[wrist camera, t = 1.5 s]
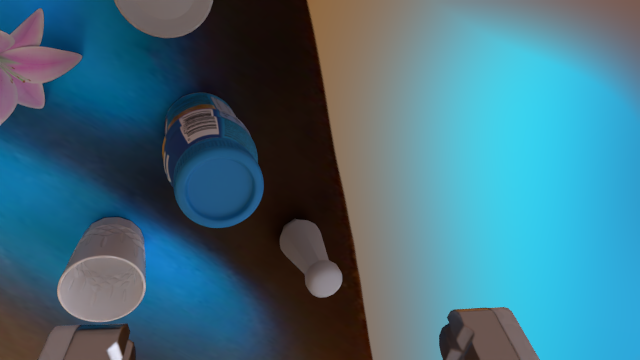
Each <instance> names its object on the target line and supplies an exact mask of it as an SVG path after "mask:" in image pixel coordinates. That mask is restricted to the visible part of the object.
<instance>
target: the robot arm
mask: <svg viewBox="0 0 640 360" xmlns="http://www.w3.org/2000/svg"><path fill="white" fill-rule="evenodd" d="M447 318H448V321H449V324H447V325H446V326H444V327H443V328H442V330H441V333H440V335H439V346H440V351H441V355H442V357H443V360H540V359H539V358H538V356H537V354H536V353H535V351H534V349H533V348H532V346H531V344H530V343H529V340H528V339H527V337H526V335H525V334H524V332H523V330H522V329H521V327H520V325H519V323H518V322H517V320H516V318H515V316H514V315H513V313H512V311H510V310H509V309H508V308H504V307H500V308H474V309H457V310H453V311H451V312H450V313H449V315H448V317H447ZM129 334H130V330H129V327H128V324H102V325H67V326H55V328H54V329H53V330H52V331H51V332H50V334H49V336H48V338H47V340H46V342H45V344H44V346H43V349H42V351H41V353H40V355H39V357H38V359H37V360H136V352H135V346H134V342H132V341H130V340H129V339H128V338H129Z"/></svg>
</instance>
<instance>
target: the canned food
mask: <svg viewBox="0 0 640 360" xmlns="http://www.w3.org/2000/svg"><path fill="white" fill-rule="evenodd" d="M114 1H115V4H116V6H117V7H118V9H119V11H120V12H121V14H122V15H123V16H124V17H125V18H126V20H127V21H128V22H129V23H131V24H132V25H133V26H134V27H136V28H137V29H139V30H140V31H142V32H144V33H146V34H149V35H152V36H155V37H161V38H175V37H179V36H184V35H186V34H188V33H190V32H192V31H193V30H195V29H196V28H197V27H199V26H200V25H201V24H202V22H203V21H204V20H205V19H206V17H207V15H208V14H209V12H210V9H211V6H212V3H213V0H114Z"/></svg>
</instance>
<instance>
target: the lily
mask: <svg viewBox="0 0 640 360" xmlns="http://www.w3.org/2000/svg"><path fill="white" fill-rule="evenodd" d="M43 28H44V15H43V10H42V8H40V9H37V10H36V11H35V12H34V13H33V14H32V15H31V16H29V17H28V18H27V19H26V20H25V21H24V22H23V23H22V24H21V25H20V26H19V27H18V28H16V29H15V30H14V31H13V32H12V33H11V34H10V35H9V34H7V33H5V32H3V31H1V30H0V125H1V124H2V123H3V122H4V121H5V120H6V119H7V118H8V117H9V116H10V114H11V113H12V112H13V111H14V109H15V107H16V105H17V103H18V104H21V105H23V106H27V107H31V108H36V109H41V108H43V107H44V104H45V96H44V89H43V86H42V83H45V82H49V81H52V80H54V79H56V78H58V77H60V76H61V75H63V74H64V73H66V72H68V71H69V70H70V69H72V68H73V67H74V66H75V65H77V64H78V63H79V62H80V61H81V59H82V56H81V54H78V53H74V52H70V51H64V50H59V49H54V48H48V47H39V46H40V44H41V40H42V36H43Z"/></svg>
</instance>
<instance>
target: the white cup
mask: <svg viewBox="0 0 640 360" xmlns="http://www.w3.org/2000/svg"><path fill="white" fill-rule="evenodd" d="M145 290H146V261H145V248H144V238H143V235H142V232H141V229H140V228H138V227H137V226H136V225H135V224H134V223H133V222H132V221H129V220H126V219H123V218H120V217H110V218H103V219H101V220H99V221H97V222H94V223H92V224H91V225H90V227H89V228H88V229H87V230H86V231H85V232H84V234H83V236H82V238H81V240H80V241H79V243H78V244H77V246H76V248H75V250H74V252H73V254H72V256H71V258H70V260H69V262H68V264H67V266H66V268H65V270H64V272H63V274H62V276H61V278H60V280H59V283H58V288H57V294H58V298H59V301H60V303H61V305H62V306H63V308H64V309H65V310H66V311H67V312H69V313H70V314H71V315H73V316H75V317H77V318H79V319H82V320H86V321H91V322H106V321H112V320H116V319H119V318H121V317H123V316H125V315H127V314H129V313H130V312H132V311H133V310H134V309H135V308H136V307H137V306H138V305H139V304H140V302H141V301H142V299H143V297H144V294H145Z"/></svg>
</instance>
